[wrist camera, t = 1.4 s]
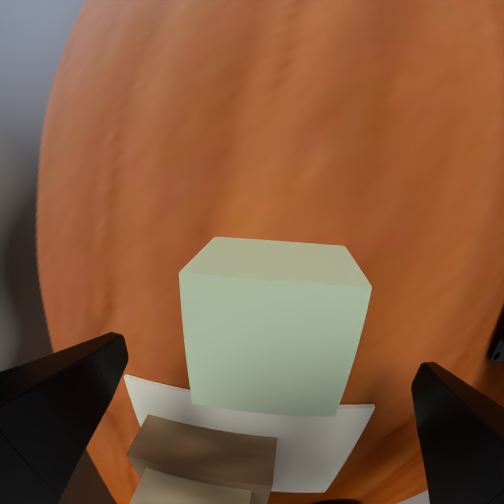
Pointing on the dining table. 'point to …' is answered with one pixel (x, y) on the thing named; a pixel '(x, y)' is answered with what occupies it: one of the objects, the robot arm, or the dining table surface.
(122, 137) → the dining table surface
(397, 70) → the dining table surface
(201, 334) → the sage block
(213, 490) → the birch block
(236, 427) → the grey mat
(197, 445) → the walnut slab
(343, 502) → the supplement bottle
